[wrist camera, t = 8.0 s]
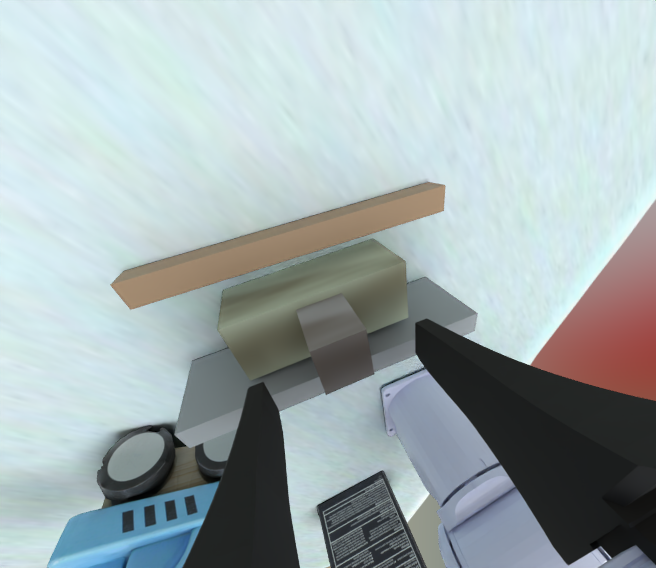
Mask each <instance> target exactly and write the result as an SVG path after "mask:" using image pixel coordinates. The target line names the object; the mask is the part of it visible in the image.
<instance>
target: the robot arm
mask: <svg viewBox="0 0 656 568" xmlns="http://www.w3.org/2000/svg"><path fill="white" fill-rule="evenodd" d="M415 353H416V354H417V356H418V358H419V359H420V361H421V362H422V364H423V365H424V367H425V368H426V369H425V370H422V371H420V372H418V373H415V374H413V375H411V376H408V377H406V378H404V379H401V380H399V381H397V382H394V383H392V384H389V385H387V386H385V387H383V388H382V390H381V393H382V400H383V408H384V416H385V423H386V431H387V434H388V436H393V435H395V434H397V436H398V438H399V440H400V441H401V443H402V445H403V447H404V449H405V451H406V453H407V455H408V456H409V458H410V460H411V462H412V464H413V466H414V468H415V469H416V471H417V473H418V475H419V477H420V479H421V481H422V483H423V484H424V486H425V488H426V489H427V491H428V492H429V493H430V494H431V495H432V496H433V497H434V498H435V499H436V500H437V502H438V504H439V505H440V507H441V508H440V509H439V510H437V514H438V516H439V518H440V520H441V521H442V523H441V524H440V525H439V526H438V534H439V547H440V552H441V555H442V558H443V561H444V564H445V566H446V568H656V401H653V400H648V399H644V398H639V397H635V396H631V395H626V394H622V393H618V392H614V391H611V390H607V389H603V388H599V387H596V386H592V385H589V384H585V383H582V382H578V381H575V380H572V379H568V378H565V377H562V376H559V375H555V374H553V373H550V372H547V371H544V370H541V369H538V368H535V367H533V366H530V365H527V364H525V363H522V362H519V361H517V360H514V359H512V358H509V357H507V356H504V355H502V354H500V353H497V352H495V351H493V350H490V349H488V348H486V347H484V346H481V345H479V344H477V343H475V342H473V341H471V340H469V339H467V338H465V337H463V336H461V335H459V334H457V333H455V332H453V331H451V330H449V329H447V328H445V327H443V326H441V325H439V324H437V323H435V322H433V321H431V320H429V319H427V318H426V319H424V320H421V321H418V322H416V323H415ZM182 568H300V565H299V560H298V554H297V548H296V543H295V537H294V531H293V525H292V519H291V513H290V505H289V496H288V485H287V473H286V461H285V449H284V438H283V430H282V425H281V420H280V415H279V410H278V407H277V405H276V404H275V402H274V400H273V398H272V396H271V395H270V393H269V391H268V389H267V387H266V386H265V384H264V382H261V383H258V384H256V385H253V386H251V387H249V388H248V390H247V394H246V398H245V402H244V406H243V410H242V414H241V418H240V421H239V425H238V428H237V431H236V435H235V438H234V441H233V444H232V448H231V451H230V454H229V457H228V459H227V462H226V465H225V468H224V471H223V474H222V476H221V479H220V482H219V484H218V487H217V490H216V492H215V495H214V497H213V500H212V502H211V505H210V507H209V509H208V512H207V514H206V517H205V519H204V521H203V524H202V526H201V528H200V530H199V532H198V535H197V537H196V539H195V541H194V544H193V546H192V548H191V550H190V552H189V554H188V557H187V559H186V561H185V563H184V565H183V567H182Z"/></svg>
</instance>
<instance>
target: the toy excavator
mask: <svg viewBox="0 0 656 568" xmlns="http://www.w3.org/2000/svg"><path fill="white" fill-rule="evenodd" d="M151 427H152V426H147V427H144V428H140V429H138V430H137V431H133V432H131V433H129V434H128V435H126V436H125V437H124V438H121V439H120V440H119V441H118V442H116V444H115V445H114V446H113V447H112V448H111V449H110V450H109V451H108V453H107V455H106V456H105V457H104V459H103V467H102V466H101V469H100V470H98V473H97V483H98V485H99V486H100V488H101V490H102V492H103V494H104V496H105V500H104V503H103V506H102V509H98V510H93V511H89V512H86V513H82V514H79V515H76V516H74V517H72V518H71V519H70V520H69V521H68V523H67V525H66V527H65V529H64V531H63V533H62V535H61V537H60V539H59V541H58V543H57V545H56V548H55V550H54V552H53V554H52V556H51V558H50V561H49V563H48V566H47V568H182V567H183V565H184V563H185V561H186V559H187V557H188V554H189V552H190V550H191V548H192V546H193V544H194V541H195V539H196V537H197V535H198V532H199V530H200V528H201V526H202V524H203V521H204V519H205V517H206V514H207V512H208V509H209V507H210V505H211V502H212V500H213V497H214V495H215V492H216V490H217V487H218V484H219V482H220V479H221V476H222V474H223V471H224V468H225V465H226V462H227V459H228V457H229V454H230V451H231V448H232V444H233V441H234V438H235V435H236V431H237V429H235V430H233V431H230V432H228V433H226V434H223V435H221V436H218V437H216V438H213V439H211V440H209V441H206V442H204V443H201V444H199V445H197V446H194V447H192V448H188V447H187V446H186V447H180V448H175V447H174V443H173V438H172V435H171V434H170V433H169V432H168V431H167V430H166V429H164V428H161V429H160V432H151V431H147V430H148V429H150V428H151Z"/></svg>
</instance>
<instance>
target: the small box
mask: <svg viewBox="0 0 656 568" xmlns="http://www.w3.org/2000/svg"><path fill="white" fill-rule="evenodd" d="M317 512H318V515H319V517H320V521H321V525H322V530H323V534H324V539H325V544H326V549H327V553H328V558H329V562H330V566H331V568H427V567H426V565H425V563H424V560H423V558H422V556H421V553H420V551H419V549H418V546H417V544H416V542H415V540H414V537H413V535H412V533H411V531H410V529H409V526H408V524H407V522H406V520H405V517H404V515H403V513H402V511H401V509H400V506H399V504H398V502H397V500H396V498H395V495H394V493H393V491H392V489H391V487H390V484H389V482H388V480H387V477H386V475H385V473H384V471H381V472H379V473H377V474H375V475H373V476H372V477H370V478H368V479H366V480H364V481H363V482H361V483H359V484H357V485H355V486H354V487H352V488H350V489H348V490H346V491H344V492H343V493H341V494H339V495H337V496H335V497H333V498H332V499H330V500H328V501H326V502H324V503H322V504H320V505H319V506H318V507H317Z"/></svg>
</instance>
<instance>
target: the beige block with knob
mask: <svg viewBox="0 0 656 568" xmlns="http://www.w3.org/2000/svg"><path fill="white" fill-rule="evenodd" d="M406 318H408V300H407V280H406V261H405V260H403V259H402V258H400V257H399V256H397V255H396V254H395V253H393V252H392V251H390V250H389V249H387V248H386V247H384V246H383V245H382V244H380V243H379V242H377V241H376V240H374V239H370V240H367V241H364V242H361V243H359V244H356V245H353V246H350V247H347V248H344V249H341V250H338V251H335V252H332V253H329V254H327V255H324V256H321V257H318V258H315V259H312V260H309V261H306V262H303V263H300V264H297V265H295V266H292V267H289V268H286V269H283V270H280V271H277V272H274V273H271V274H268V275H265V276H262V277H260V278H257V279H254V280H251V281H248V282H245V283H242V284H239V285H236V286H233V287H230V288H228V289H225V290H223V294H222V301H221V307H220V314H219V321H218V328H217V330H218V332H219V333H220V335H221V337H222V338H223V340H224V341H225V343H226V344H227V346H228V347H229V349H230V350H231V352H232V353H233V355H234V357H235V358H236V360H237V361H238V363H239V364H240V366H241V367H242V369H243V370H244V372H245V373H246V375H247V377H248V378H249V380H250V381H251V380H254V379H256V378H259V377H261V376H264V375H266V374H269V373H271V372H274V371H276V370H279V369H281V368H283V367H286V366H288V365H291V364H293V363H296V362H298V361H301V360H303V359H306V358H308V357H312V360H313V362H314V365H315V368H316V370H317V373H318V375H319V378H320V381H321V383H322V386H323V388H324V391H325V393H326V395H327V394H329V393H331V392H334V391H336V390H338V389H341V388H343V387H345V386H348V385H350V384H352V383H355V382H357V381H359V380H362V379H364V378H366V377H369V376H371V375H373V374H374V368H373V363H372V357H371V352H370V347H369V341H368V336H367V334H368V333H371V332H373V331H376V330H378V329H381V328H383V327H386V326H388V325H391V324H393V323H396V322H398V321H401V320H403V319H406Z"/></svg>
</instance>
